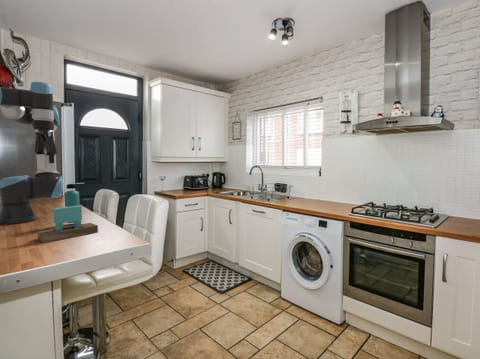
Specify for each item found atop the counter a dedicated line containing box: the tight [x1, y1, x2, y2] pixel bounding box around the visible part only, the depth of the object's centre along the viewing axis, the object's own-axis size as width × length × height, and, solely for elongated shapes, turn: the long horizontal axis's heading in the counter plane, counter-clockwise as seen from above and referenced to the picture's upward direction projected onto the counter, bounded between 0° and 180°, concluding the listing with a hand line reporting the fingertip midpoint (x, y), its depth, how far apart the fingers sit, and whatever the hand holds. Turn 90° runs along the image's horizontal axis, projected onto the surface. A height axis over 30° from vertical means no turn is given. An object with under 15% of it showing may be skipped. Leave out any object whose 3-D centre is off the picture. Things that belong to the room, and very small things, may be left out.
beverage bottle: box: [63, 183, 81, 224], centre depth 132 cm, size 6×7×20 cm
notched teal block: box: [52, 205, 83, 232], centre depth 113 cm, size 3×9×12 cm, turn 140°
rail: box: [36, 222, 99, 244], centre depth 114 cm, size 8×20×3 cm, turn 140°
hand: (46, 170), depth 118 cm, fingers open, 13 cm apart
